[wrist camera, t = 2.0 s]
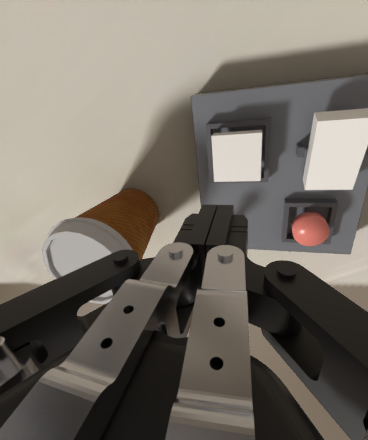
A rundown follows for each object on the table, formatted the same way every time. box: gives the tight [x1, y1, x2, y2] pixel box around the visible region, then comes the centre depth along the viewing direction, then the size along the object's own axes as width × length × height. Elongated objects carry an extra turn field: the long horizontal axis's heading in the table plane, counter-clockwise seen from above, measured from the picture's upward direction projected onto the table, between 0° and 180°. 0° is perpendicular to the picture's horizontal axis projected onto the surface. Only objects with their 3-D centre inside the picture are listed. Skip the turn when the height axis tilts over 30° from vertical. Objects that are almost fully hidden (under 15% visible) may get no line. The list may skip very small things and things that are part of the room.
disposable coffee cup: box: [42, 189, 159, 304], centre depth 28 cm, size 10×10×12 cm
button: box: [291, 212, 330, 246], centre depth 23 cm, size 3×3×1 cm
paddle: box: [211, 130, 262, 182], centre depth 22 cm, size 4×4×1 cm
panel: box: [191, 74, 368, 254], centre depth 24 cm, size 16×15×4 cm
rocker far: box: [303, 108, 368, 190], centre depth 20 cm, size 6×4×2 cm, turn 7°
